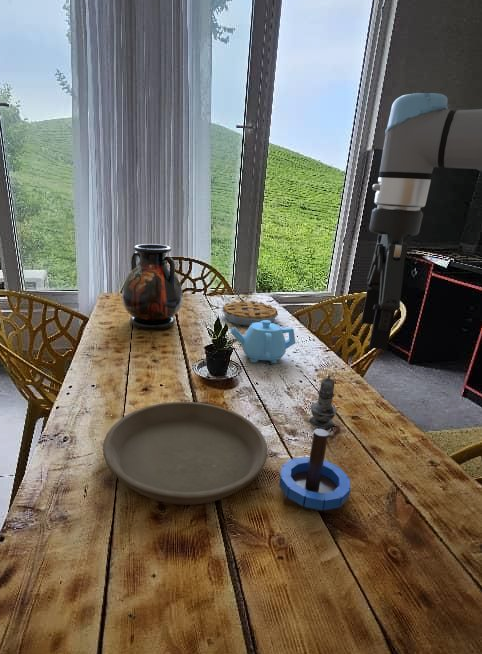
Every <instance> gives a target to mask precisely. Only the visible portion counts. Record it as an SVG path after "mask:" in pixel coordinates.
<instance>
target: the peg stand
mask: <svg viewBox="0 0 482 654" xmlns="http://www.w3.org/2000/svg"><path fill="white" fill-rule="evenodd" d="M328 440H329V432H328V431H327V430H326V429H324V428H315V429H314V430H313V434H312V440H311V446H310V453H309V457H310V458H309V465H308V471H305V472H299V473H296V474H295V475H294V476H292V479H293V480H294V481H295V483H296V484H297V485H299V486H300V487H302V488H304V489H306V490H308V491H312V492H317V493H326V492H332V491H334V490H335V489H336V488H337V486H336V484H335V483H334V482H333V481H332V480H331V479H330V478H328V477H326V476H324V475H322V469H323V463H324V460H325V458H326V457H325V456H326V452H327V445H328ZM283 505H284V506H287V507H288V506H289V507H293V508H299V509H303V510H309V511H315V512H319V513H325V514H330V515H334V516H339V513H340V509H341V508H340V506H339V508H334V509H328V510H323V509H322V510H318V509H313V508H308V507H304V506H301V505H300V504H298V503H296V502H295V501H293V500H291V499H289V498H288V497H287V496H286V495H285V494H284V499H283Z"/></svg>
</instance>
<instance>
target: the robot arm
mask: <svg viewBox="0 0 482 654" xmlns="http://www.w3.org/2000/svg"><path fill="white" fill-rule="evenodd" d="M448 100H449V99H448V97H447V96H446V94H442V93H435V92H430V93H429V92H428V93H427V92H416V93H408V94H404V95H401V96H399V97H397V98H396V99H395V100H394V101H393V103H392V105H391V109H390V114H389V118H388V121H387V126H386V129H385V132H384V135H385V136H384V141H383V147H382V154H381V160H380V161H381V162H380V167H379V172H378V178H377V183H374V184H373V185H372V191H376V192H375V194H374V199H373V200H374V201H373V203H374V204H375V205H377V207H374V208H373V209H372V210H371V214H370V221H369V227H368V230H369V231H370V232H371V233H374V234H377V237H376V239H377V240H376V245H375V249H374V253H373V256H372V260H371V264H370V268H369V272H368V275H367V278H366V281H367V283H366V284H367V285H366V286H367V288H366V293H365V299H364V305H363V310H362V314H361V315H362V316H361V320H360V323H361V324H364V325H372V328H371V332H370V333H371V334H370V337H369V343H368V348H369V349H376V350H385V351H387V350H388V347H389V343H390V337H391V332H392V329H393V323H394V319H395V313H396V311H400V308H401V298H402V289H403V279H404V271H405V264H406V263H405V262H406V256H407V251H408V250H409V248H408V244H405V243H404V237H414V236H417V235H419V233H420V230H421V225H422V220H423V217H424V213H423V211H422V210H421V208H424V207H426V203H427V200H428V195H429V192H430V191H429V190H430V186H431V181H432V173H433V171H434V168H439V169H446V168H447V169H467V170H477V171H479V172H480V173H482V108H479V109H477V108H476V109H450V108H449V107H448ZM403 243H404V244H403Z"/></svg>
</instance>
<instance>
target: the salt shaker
mask: <svg viewBox="0 0 482 654" xmlns="http://www.w3.org/2000/svg"><path fill="white" fill-rule="evenodd" d="M320 381H321V382H320V388H319V390H318V391H317V394H318V397H317V401H316V402H314V403H311V405H310V407H309V408H310V412H311V414H312V417H310V418H309V423H310V424H311V425H312V426H313V427H315V428H317V429H324V430H326V429H331V428H332V427H333V426H334V422H333V421H332V420H333V419H334V417H335V416H336V414H337V413H338V409H337V408H336V407H335V406H334V405H333V398H334V397H335V393H334V390H335V383H336V382H335V380H333V379H332V378H331V375H330V374H328V375H327V377H324V378H322V379H321V380H320Z"/></svg>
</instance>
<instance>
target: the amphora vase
mask: <svg viewBox="0 0 482 654" xmlns="http://www.w3.org/2000/svg"><path fill="white" fill-rule="evenodd" d="M133 250H134V251H135V252H134V253H132V256H131V260H130V265H131V270H130V272H129V273H128V275H127V277H126V279H125V281H124V284H123V287H122V293H121V300H122V304H123V307H124V308H125V310H126V312H127V313H128V314H129V315H130V316H131V317H130V319H129V323H130V324H131V325H132V327H135V328H137V329H140V330H145V331H160V330H161V331H162V330H166V329H169V328H171V327H173V326H174V325H175V323H176V319H175V317H174V316H175V315H176V314H177V313H178V312H179V310H180V309H181V307H182V304H183V290H182V289H183V288H182V285H181V282H180V279H179V278H178V276H177V274H176V265H175V261H174V259H173V257H170V256H166V255H167V254H168V253H170V252H172V247H170V246H169V245H166V244H158V243H144V244H143V243H142V244H137V245H135V246H133ZM138 258H139V262H138V263H137V260H138ZM167 263H168V264H169V265H168V264H167Z"/></svg>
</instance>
